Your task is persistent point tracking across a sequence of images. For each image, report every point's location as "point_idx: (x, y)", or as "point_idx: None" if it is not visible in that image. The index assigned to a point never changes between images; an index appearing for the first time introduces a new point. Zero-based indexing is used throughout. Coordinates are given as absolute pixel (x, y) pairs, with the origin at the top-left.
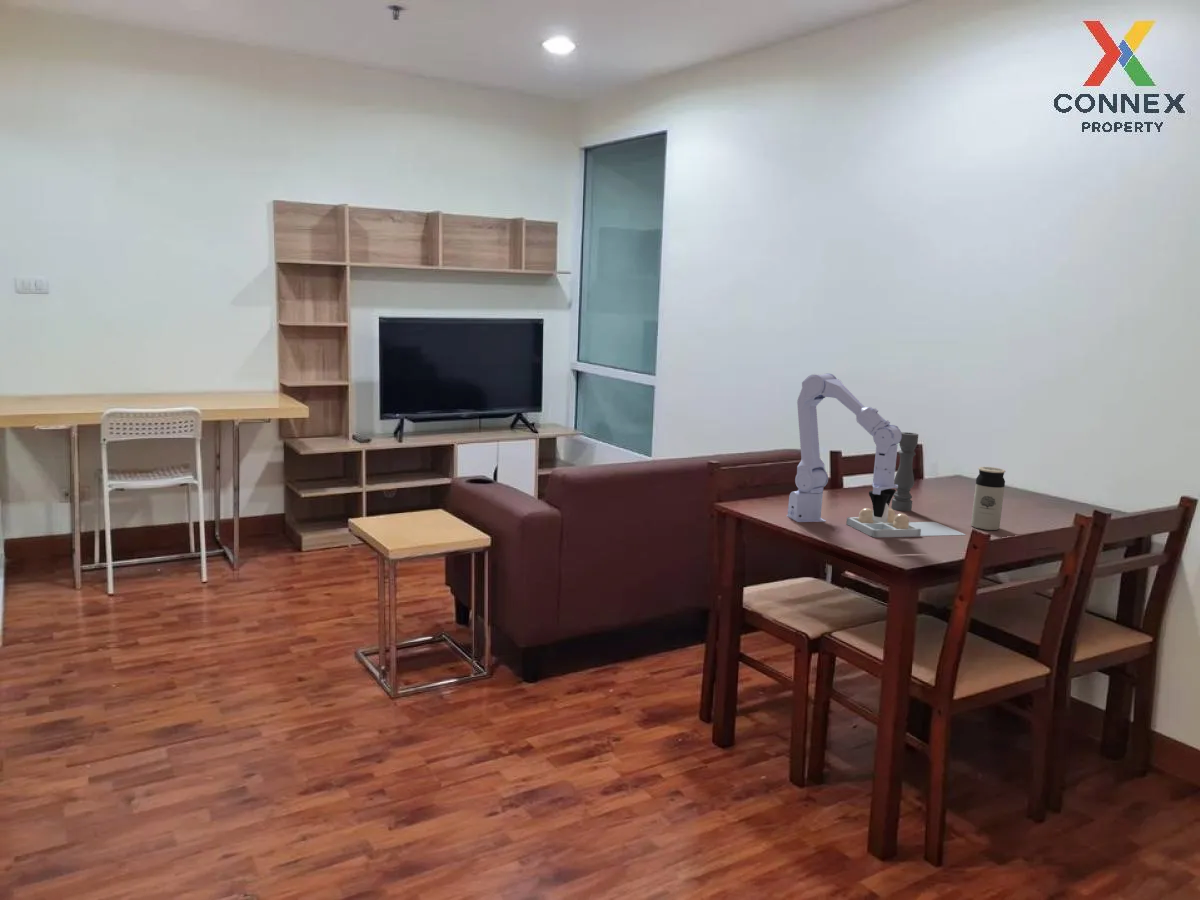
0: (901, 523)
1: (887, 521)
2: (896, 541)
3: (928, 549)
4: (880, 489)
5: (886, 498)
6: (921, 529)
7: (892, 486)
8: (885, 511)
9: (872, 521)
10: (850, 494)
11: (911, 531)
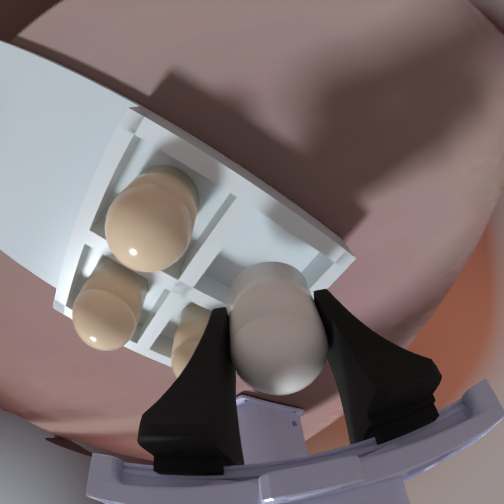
0: (186, 204)
1: (135, 290)
2: (307, 154)
3: (332, 8)
4: (500, 408)
5: (425, 358)
6: (36, 171)
7: (365, 475)
8: (303, 306)
9: (204, 324)
10: (5, 399)
11: (180, 136)
